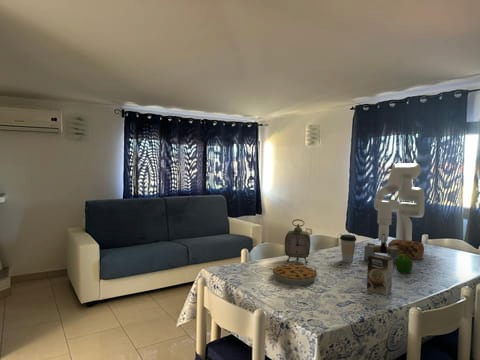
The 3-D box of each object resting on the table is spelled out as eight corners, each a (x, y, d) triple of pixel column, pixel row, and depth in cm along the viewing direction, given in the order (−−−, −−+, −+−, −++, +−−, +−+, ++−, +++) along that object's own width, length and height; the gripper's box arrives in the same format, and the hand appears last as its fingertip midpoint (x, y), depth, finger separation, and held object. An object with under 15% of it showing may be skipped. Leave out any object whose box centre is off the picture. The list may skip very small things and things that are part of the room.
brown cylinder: (368, 252, 201) (368, 245, 201) (369, 250, 205) (369, 243, 205) (398, 256, 194) (398, 248, 194) (398, 254, 198) (398, 246, 198)
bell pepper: (410, 271, 182) (411, 252, 181) (413, 275, 174) (414, 256, 173) (393, 269, 184) (394, 251, 184) (396, 274, 176) (397, 255, 176)
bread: (424, 257, 209) (424, 241, 209) (416, 260, 202) (417, 244, 202) (394, 251, 223) (395, 236, 223) (386, 254, 217) (387, 238, 216)
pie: (265, 274, 174) (265, 264, 173) (302, 270, 181) (302, 260, 181) (285, 289, 153) (285, 278, 153) (325, 283, 161) (326, 273, 161)
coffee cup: (353, 258, 204) (354, 234, 203) (357, 263, 194) (358, 237, 193) (337, 258, 205) (338, 233, 204) (340, 262, 195) (341, 237, 194)
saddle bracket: (390, 260, 202) (391, 245, 201) (396, 261, 200) (396, 246, 200) (390, 264, 194) (390, 248, 194) (395, 264, 193) (396, 249, 192)
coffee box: (366, 290, 153) (367, 255, 152) (372, 286, 158) (373, 252, 157) (386, 296, 147) (387, 259, 146) (392, 292, 151) (393, 256, 150)
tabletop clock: (284, 262, 194) (285, 219, 192) (285, 258, 202) (286, 217, 201) (309, 264, 190) (310, 221, 189) (310, 260, 199) (311, 218, 198)
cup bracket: (365, 257, 208) (366, 242, 207) (374, 258, 206) (375, 243, 205) (364, 260, 200) (364, 245, 200) (373, 261, 198) (373, 246, 197)
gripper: (378, 218, 208) (377, 247, 209) (376, 223, 192) (375, 254, 193) (391, 219, 204) (390, 249, 205) (390, 224, 189) (389, 256, 190)
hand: (383, 251), depth 199 cm, fingers closed on brown cylinder, 4 cm apart
